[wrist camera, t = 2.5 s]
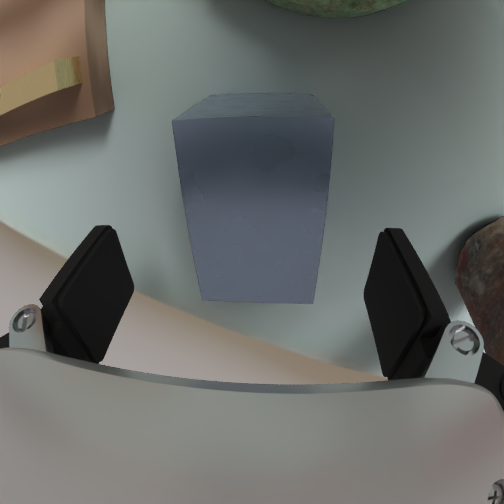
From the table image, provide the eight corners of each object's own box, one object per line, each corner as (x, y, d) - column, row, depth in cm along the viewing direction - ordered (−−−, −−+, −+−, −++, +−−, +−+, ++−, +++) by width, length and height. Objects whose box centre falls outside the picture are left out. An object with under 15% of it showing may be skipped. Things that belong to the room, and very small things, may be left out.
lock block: (210, 95, 13) (172, 120, 8) (312, 94, 13) (334, 118, 8) (222, 227, 18) (202, 299, 13) (305, 229, 18) (312, 303, 13)
